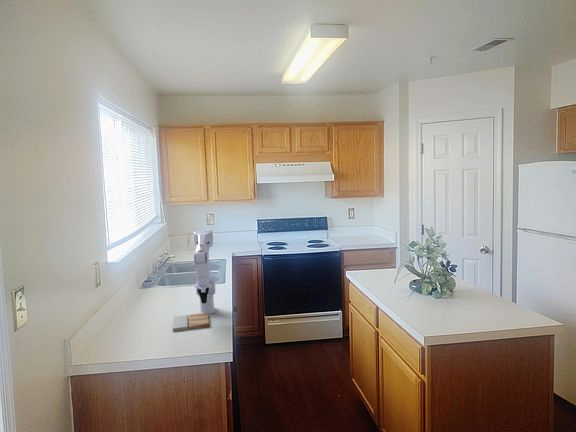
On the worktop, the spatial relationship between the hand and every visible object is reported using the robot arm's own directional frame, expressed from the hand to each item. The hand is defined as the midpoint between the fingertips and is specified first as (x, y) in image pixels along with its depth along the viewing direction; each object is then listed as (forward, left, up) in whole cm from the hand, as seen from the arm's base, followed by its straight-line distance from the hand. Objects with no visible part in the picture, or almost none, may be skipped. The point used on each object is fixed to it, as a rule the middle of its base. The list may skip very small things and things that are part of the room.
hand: (204, 302), depth 213 cm
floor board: (0, -12, -9) cm, 15 cm away
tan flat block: (0, -3, -9) cm, 10 cm away
